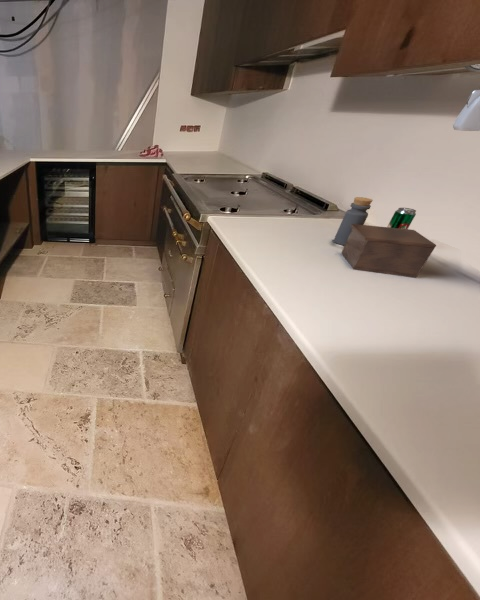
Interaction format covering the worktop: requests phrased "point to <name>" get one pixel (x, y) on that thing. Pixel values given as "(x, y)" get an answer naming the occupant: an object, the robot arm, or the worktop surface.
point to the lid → (392, 235)
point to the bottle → (353, 218)
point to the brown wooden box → (385, 256)
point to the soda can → (402, 218)
